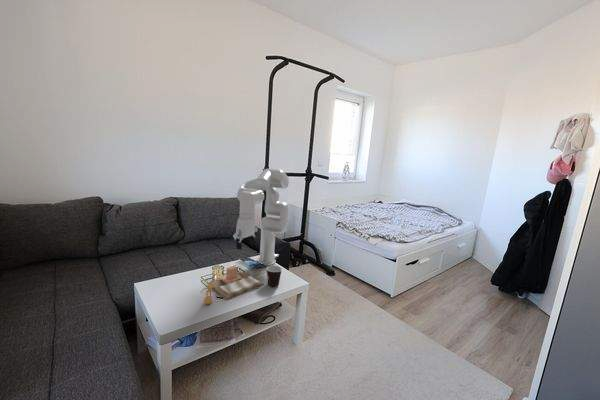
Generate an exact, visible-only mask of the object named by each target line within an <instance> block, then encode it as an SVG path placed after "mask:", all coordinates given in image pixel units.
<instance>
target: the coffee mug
mask: <svg viewBox="0 0 600 400" xmlns="http://www.w3.org/2000/svg"><path fill="white" fill-rule="evenodd" d="M282 270H283V269H282V267H281V266H279V265H275V264H273V265H267V266H266V281H267V286H268V287H269V288H277V287H279V285H280V279H281V275H282Z"/></svg>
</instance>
